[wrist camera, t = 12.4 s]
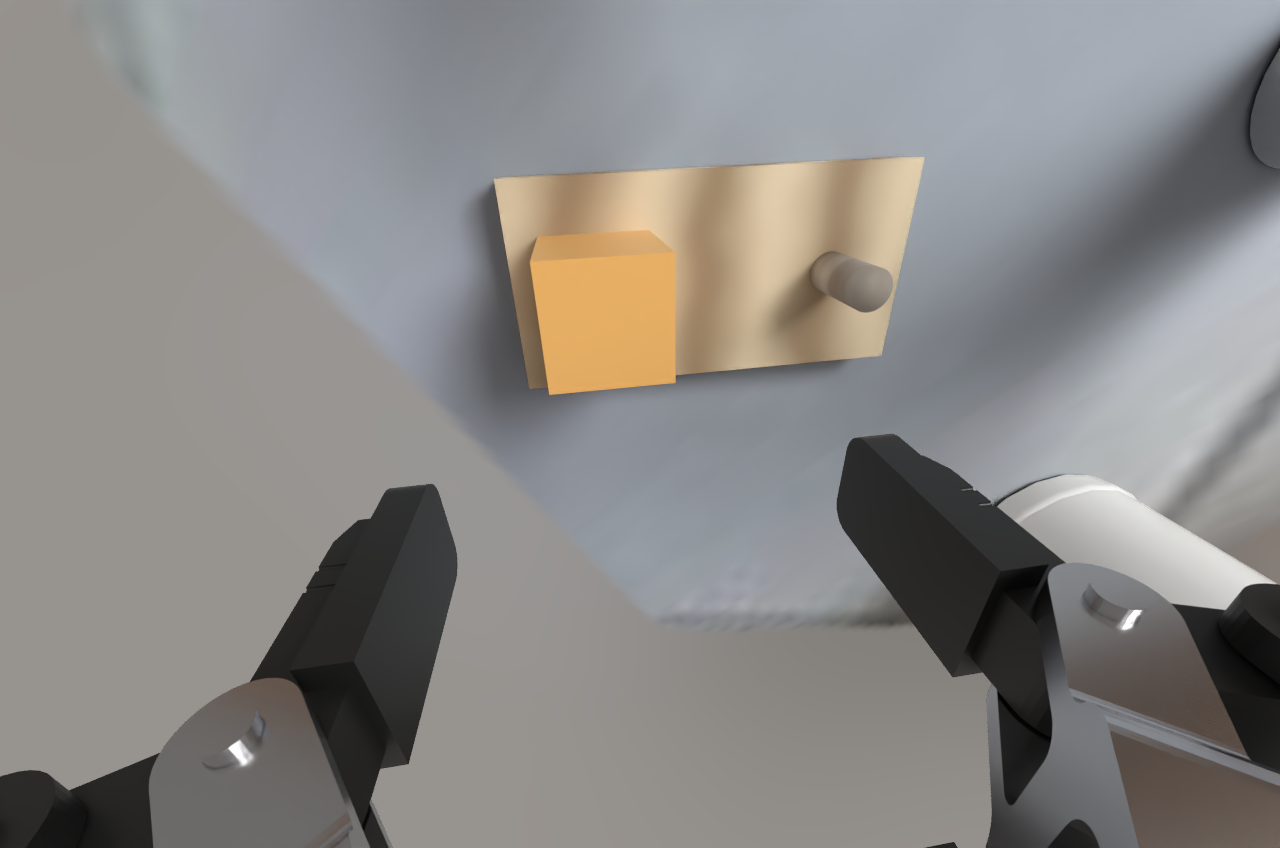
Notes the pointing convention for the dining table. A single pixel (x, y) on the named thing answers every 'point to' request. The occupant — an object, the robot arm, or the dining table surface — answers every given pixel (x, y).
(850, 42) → the dining table surface
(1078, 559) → the bottle
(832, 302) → the wooden peg rack
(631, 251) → the wooden toy cube
